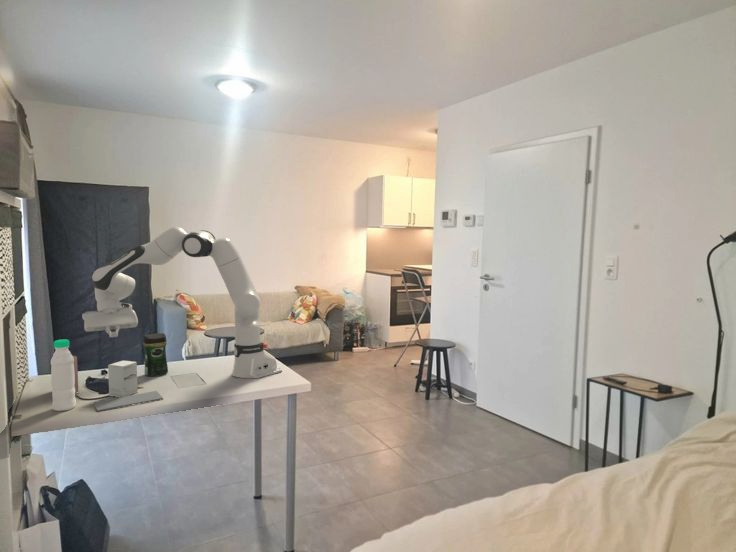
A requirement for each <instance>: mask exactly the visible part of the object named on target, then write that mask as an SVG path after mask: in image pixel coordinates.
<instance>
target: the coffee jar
mask: <svg viewBox="0 0 736 552" xmlns="http://www.w3.org/2000/svg"><path fill="white" fill-rule="evenodd" d="M167 342H168V340H167V336H166V333H163V332H160V333H157V332H156V333H150V334H145V335H144V337H143V347H144V349H145V355H144V357H145V359H144V360H145V361H144V375H145V376H146V377H157V376H158V375H159V376H162V375H166V374H168V372H169V367H168V366H169V365H168V361H167V353H166V347H167ZM159 376H158V377H159Z"/></svg>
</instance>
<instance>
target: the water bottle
mask: <svg viewBox="0 0 736 552" xmlns="http://www.w3.org/2000/svg"><path fill="white" fill-rule="evenodd" d="M53 348H54V349H55V351H54V353H53V354H52V355H53V356H52V357H51V359H50V365H51V370H50V373H51V374H50V375H51V377H50V379H51V388H52V391H51V396H52V397H51V398H52V409H53V411H56V412H64V411H69V410H72V409H73V408H75V407H76V405H77V401H76V393H75V387H74V385H75V373H74V364H73V362H74V358H73V356H74V355H73V354H72V352H71V350H69V348H70V339H65V338H64V339H56V340H54V341H53Z"/></svg>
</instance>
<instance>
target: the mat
mask: <svg viewBox="0 0 736 552" xmlns="http://www.w3.org/2000/svg"><path fill="white" fill-rule="evenodd" d="M160 399H162V400H164V397H163V396H162V395H161V394H160V393H159V392H158V391H157V390H153V391H148V392H143V393H142V392H141V393H135V394H131V395H129V396H125V397H113V398H110V399H103V400H98V401H94V402H92V403H94V404H93V405H95V406H94V407H96V408H95V410H96V409H97V410H96V412H97V411H98V412H97V413H99V411H100V412H104V410H105V411H109V410H108V409H110V410H113V409H112V408H115V409H119V408H118V407H120V408H124V407H123V406H126V407H129V406H128V405H131V406H133V405H132V404H136V405H138V404H137V403H141V404H144V403H143V402H147V403H150V402H149V401H152V402H156V401H155V400H157V401H161V400H160Z"/></svg>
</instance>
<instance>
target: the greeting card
mask: <svg viewBox="0 0 736 552" xmlns="http://www.w3.org/2000/svg"><path fill="white" fill-rule="evenodd" d="M72 356H73V358H74V362H73V364H74V373H75V385H74V387H75V392H78V393H77V394H79V375H78V373H79V371H78V356H77V355H72Z"/></svg>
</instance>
